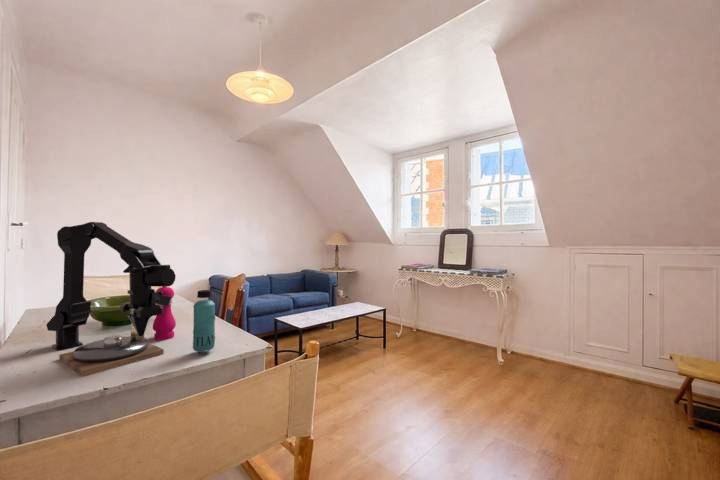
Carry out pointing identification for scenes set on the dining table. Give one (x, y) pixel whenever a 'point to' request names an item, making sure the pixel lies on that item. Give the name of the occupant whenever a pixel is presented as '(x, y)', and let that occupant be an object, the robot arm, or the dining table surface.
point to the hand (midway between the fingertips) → (141, 335)
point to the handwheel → (111, 348)
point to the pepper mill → (164, 318)
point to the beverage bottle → (204, 322)
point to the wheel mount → (95, 367)
